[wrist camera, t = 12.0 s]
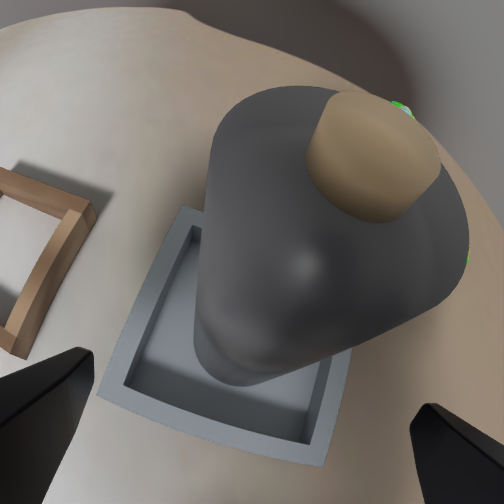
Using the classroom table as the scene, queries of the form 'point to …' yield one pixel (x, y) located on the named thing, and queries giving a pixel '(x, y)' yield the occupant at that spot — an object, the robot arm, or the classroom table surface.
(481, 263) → the classroom table surface
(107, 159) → the classroom table surface
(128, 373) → the tray
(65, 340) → the classroom table surface
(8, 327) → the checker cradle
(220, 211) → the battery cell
